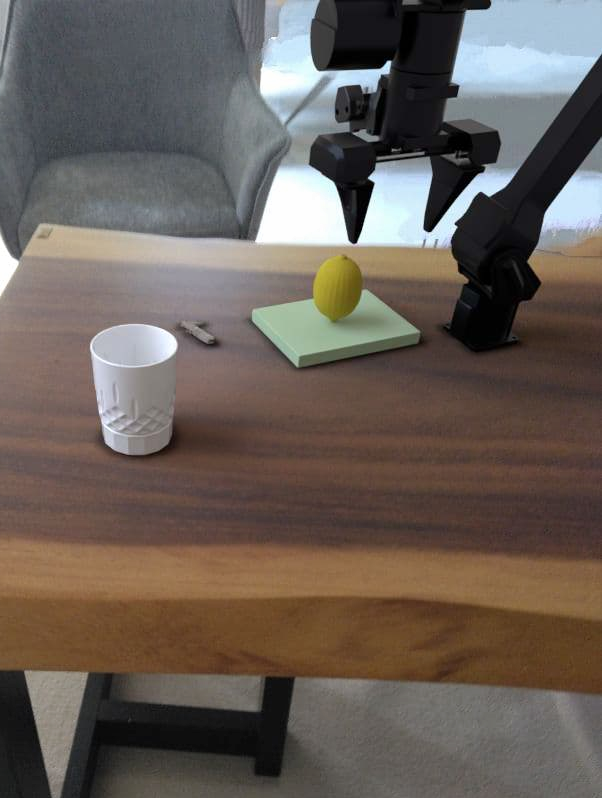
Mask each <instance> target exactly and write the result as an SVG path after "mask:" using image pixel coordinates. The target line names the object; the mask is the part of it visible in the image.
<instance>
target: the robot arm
mask: <svg viewBox="0 0 602 798" xmlns="http://www.w3.org/2000/svg"><path fill="white" fill-rule="evenodd" d="M491 7H492V0H319V1H318V3H317V6H316V8H315V12H314V18H311V21H310V33H309V47H310V55H311V60H312V63H313V66H314V68H315V69H316V71H317V72H343V71H366V70H367V71H368V70H369V71H371V70H381V69H383V68H384V67H385V65H386V64H387V63H388V62H390V67H389V71H388V73H383V74H382V73H381V74H380V78H379V79H378V81H377V87H376V90H375V91H374V92H368V93H364V91H363V89H362V84H350V85H349V84H348V85H343V86H340V87H339V86H338V87H337V91H336V95H335V96H336V97H335V102H334V119H335V121H336V123H337V124H347V123H348V124H349V127H348V128H349V130H348V131H341V132H333V133H325V134H318V135H317V137H316V138H315V139H314V141H313V142H312V144H311V146H310V149H309V156H308V157H309V158H308V165H309V166H310V167H311V168H313V169H315V170H316V171H318V172H319V173H320V174H321V175H322V176H323V177H325V178H327V179H328V180H330V181H331V182H332V183H333V184H334V186H335V188H336V190H337V195H338V197H339V201H340V205H341V210H342V215H343V220H344V224H345V229H346V230H345V231H346V234H347V235H346V236H347V241H348V242H349V243H350V244H352V245H357V244H358V242H359V239H360V236H361V234H362V233H363V229H364V225H365V221H366V217H367V213H368V210H369V206H370V202H371V200H372V199H371V198H372V196H373V193H374V189H375V185H376V182H375V181H373V180H372V179H370V178H369V177H371V175H372V174H373V173H374V172H375V171H376V167H377V164H381V163H390V162H397V161H404V160H413V159H414V160H415V159H422V158H423V159H424V158H429V161H430V166H431V172H432V174H431V180H430V185H429V191H428V196H427V201H426V205H425V209H424V216H423V224H422V230H423V231H424V232H426V233H428V234H429V233H432V232H433V231H434V229H435V228H436V227H437V226H438V225H439V223H440V222H441V220H442V219H443V218H444V217H445V215H446V214H447V213H448V211H449V209H450V208H451V207H452V206H453V205H454V203H455V202H456V201H457V199H458V198H459V197H460V196H461V195H462V193H463V192H464V191H465V190H466V188H467V187H468V186H469V185H470V184H471V183H472V182H473V180H475V178H476V177H477V176H478V175H479V174H484V173H485V171H486V169H487V168H486V166H485V165H492V164H497V162H498V159H499V156H500V152H501V148H502V143H503V142H502V140H501V136H500V132H499V130H497V129H495V128H493V127H492V126H491V127H490V126H488V125H486V124H484V123H481V122H480V121H477V120H475V119H472V118H464V119H457V120H456V119H454V120H446V121H444V119H445V114H446V109H447V105H448V99H455V98H456V99H457V98H458V95H459V90H460V87H461V86H460V84H458V83H455V82H453V75H454V70H455V66H456V62H457V56H458V51H459V47H460V42H461V38H462V32H463V28H464V23H465V18H466V14H467V11H488V10H489V9H490V8H491ZM363 130H365V134H367V135H368V136H371V137H375V136H376V137H377V138H378V139H377V140H373V141H368V140H365V139H364V138H362V137H360V136H358V135H357V134H355V133H359V132H360V131H363ZM601 139H602V53H601V54H600V56H599V57H598V58H597V60H596V61H595V62H594V64H593V65H592V66H591V68H590V70H589V71H588V72H587V73H586V74H585V76H584V77H583V79H582V80H581V81H580V83H579V85H578V86H577V87H576V89H575V90H574V91H573V93H572V94H571V96H569V99H568V100H567V101H566V102H565V104H564V105H563V107H562V108H561V110H560V111H559V113H558V114H557V115H556V117H555V118H554V119H553V121H552V123H550V125H549V126H548V128H547V129H546V131H545V132H544V133H543V135H542V136H541V137H540V139H539V141H538V142H537V143H536V144H535V146H534V148H533V149H532V150H531V151H530V153H529V154H528V156H527V157H526V158H525V160H524V161H523V163H522V164H521V165H520V167H518V170H517V171H516V172H515V173H514V175H513V176H512V179H510V181H509V182H508V183H507V184H506V185H505V186H504V187H503V188H502V189H499V190H498V191H497V192H495V193H493V194H491V195H490V196H489V195H487V194H486V193H484V192H483V191H479V192H477V193H476V194H475V195H474V197H473V199H472V200H471V202H470V204H469V206H468V208H467V209H466V211H465V212H464V213H463V215H462V216H461V217H460V218H459V219H457V220H456V221H455V222H454V225H455V227H456V229H455V230H454V232H453V233H452V236H451V239H450V246H451V248H450V250H451V255H452V257H453V259H454V260H455V262H456V264H457V265H456V266H457V272H458V274H460V275H462V276H463V277H464V278H466V280H468V282H466V283H463V284H462V287H461V291H460V295H459V297H458V298H457V299H456V301H455V306H454V311H453V314H452V318H451V321H449V322H448V321H447V322H444V323H443V324H442V329H443V330H445V331H446V332H447V333H449V334H450V335H452V337H454V338H455V339H456V340H458V341H459V342H461V343H462V344H463V345H464V346H466V347H467V348H468V349H469V350H471V351H474V352H481V351H484V350H489V349H494V348H495V349H496V348H498V347H504V346H509V345H513V344H517V343H518V342H519V340H520V339H519V336H517V335H516V334H514V333H513V332H511V331H512V328H513V325H514V321H515V318H516V315H517V312H518V309H519V306H520V303H522V302H527V301H528V302H529V301H531V300H532V299H533V298H534V297H535V295H536V293H537V291H539V288H540V287H541V285H542V281H541V280H540V278H539V276H538V275H537V273H536V272H535V271H534V269H533V268H532V266H531V265H530V263H529V262H528V261H529V259H530V258H531V256H532V255H533V253H534V252H535V250H536V248H537V246H538V245H539V243H540V242H539V241H540V239H541V233H542V228H543V225H544V219H545V215H546V212H547V211H548V210H549V208H550V206H552V204H553V203H554V201H555V200H556V198H557V197H558V196H559V194H560V193H561V192H562V191H563V189H564V188H565V187H566V186H567V184H568V182H569V181H570V180H571V179H572V178H573V176H574V174H576V172H577V171H578V169H579V168H580V167H581V165H582V164H583V163H584V162H585V160H586V159H587V157H588V156H589V155H590V154H591V152H592V151H593V149H594V148H595V147H596V146H597V144H598V143H599V142H600V140H601Z"/></svg>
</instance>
